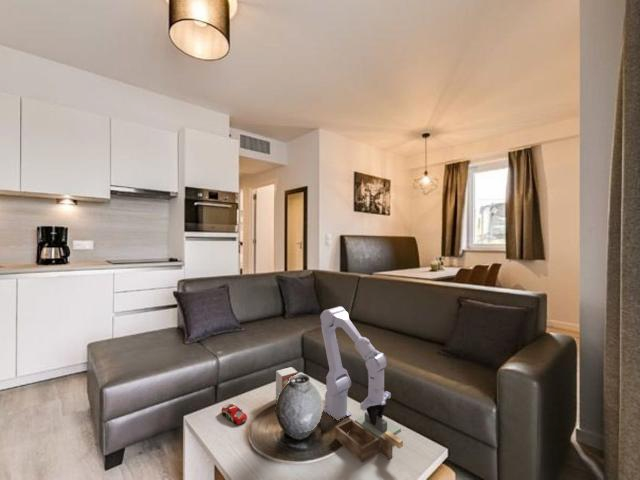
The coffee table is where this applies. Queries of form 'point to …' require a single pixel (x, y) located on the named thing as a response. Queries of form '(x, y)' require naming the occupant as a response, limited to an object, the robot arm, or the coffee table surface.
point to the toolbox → (362, 441)
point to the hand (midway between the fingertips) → (375, 422)
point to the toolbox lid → (377, 425)
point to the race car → (234, 414)
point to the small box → (283, 378)
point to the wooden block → (393, 439)
